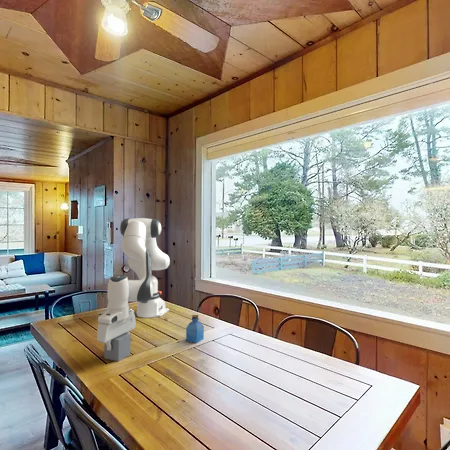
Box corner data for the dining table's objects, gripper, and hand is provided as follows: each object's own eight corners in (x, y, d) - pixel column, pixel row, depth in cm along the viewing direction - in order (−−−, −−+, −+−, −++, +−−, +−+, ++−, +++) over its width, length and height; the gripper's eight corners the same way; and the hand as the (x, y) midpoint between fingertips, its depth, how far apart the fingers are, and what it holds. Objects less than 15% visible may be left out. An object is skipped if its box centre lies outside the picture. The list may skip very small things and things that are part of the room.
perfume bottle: (186, 340, 150) (186, 316, 150) (193, 336, 155) (193, 313, 155) (196, 343, 147) (197, 318, 147) (203, 339, 152) (203, 315, 152)
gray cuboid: (116, 351, 136) (116, 331, 136) (130, 354, 133) (130, 334, 133) (104, 358, 129) (104, 337, 129) (118, 361, 126) (118, 340, 126)
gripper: (128, 306, 142) (127, 336, 142) (94, 319, 123) (94, 353, 123) (139, 308, 139) (138, 338, 139) (106, 321, 120) (106, 356, 120)
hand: (117, 345), depth 131 cm, fingers open, 8 cm apart
